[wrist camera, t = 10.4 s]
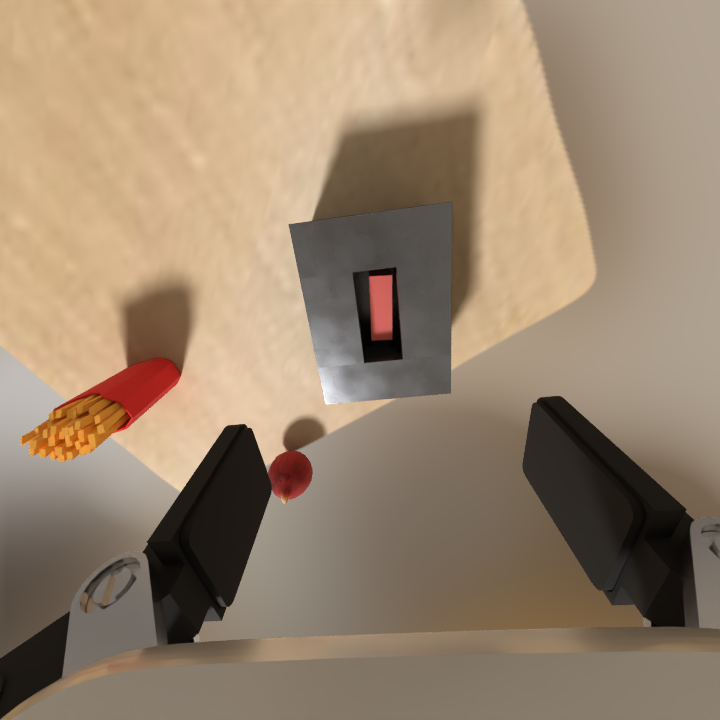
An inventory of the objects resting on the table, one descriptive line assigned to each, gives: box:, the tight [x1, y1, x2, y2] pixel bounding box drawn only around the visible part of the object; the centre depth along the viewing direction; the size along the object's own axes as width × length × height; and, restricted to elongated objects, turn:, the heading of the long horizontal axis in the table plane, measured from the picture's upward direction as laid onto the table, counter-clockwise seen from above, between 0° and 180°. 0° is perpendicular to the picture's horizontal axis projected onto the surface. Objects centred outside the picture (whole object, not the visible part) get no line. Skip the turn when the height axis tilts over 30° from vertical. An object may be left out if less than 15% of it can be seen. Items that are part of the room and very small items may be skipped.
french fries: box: [21, 358, 181, 462], centre depth 32 cm, size 9×4×13 cm, turn 106°
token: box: [369, 268, 392, 341], centre depth 29 cm, size 6×2×6 cm
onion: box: [268, 451, 312, 504], centre depth 39 cm, size 6×6×8 cm
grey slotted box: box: [289, 202, 452, 404], centre depth 28 cm, size 16×12×9 cm
